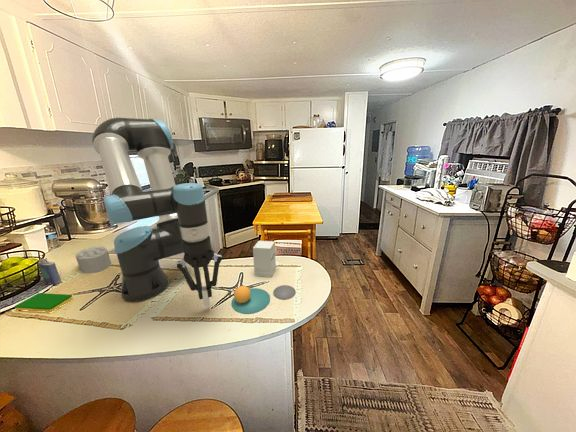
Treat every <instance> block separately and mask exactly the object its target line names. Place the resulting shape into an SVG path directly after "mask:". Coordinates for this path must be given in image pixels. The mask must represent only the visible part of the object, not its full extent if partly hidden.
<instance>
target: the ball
mask: <svg viewBox="0 0 576 432" xmlns="http://www.w3.org/2000/svg"><path fill="white" fill-rule="evenodd" d="M249 289H250V288H249V287H248V286H245V285H240V286H238V287H237V288H236V289H235V290H234V293H233V298H235V300H236V301H237V302H239V303H245V302H247V301H248V300H249V298H250V295H251V292H250V290H249Z"/></svg>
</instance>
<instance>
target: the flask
mask: <svg viewBox="0 0 576 432" xmlns="http://www.w3.org/2000/svg"><path fill="white" fill-rule="evenodd" d="M38 261H39V262H38ZM38 261H37V262H38V263H37V265H38V267H39V270H40V273H41V275H42V279H43V282H44V281H45V282H47V283H51V284H50V285H52V284H53V285H52V286H54V285H55V286H56V285H59V284H61V283H62V280H61V276H60V273H59V271H58V269H57V266H56V263H55V262H53V261H48V258H47V257H45V258H40V259H39V260H38ZM45 282H44V283H45ZM47 283H46V284H47Z"/></svg>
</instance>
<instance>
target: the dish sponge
mask: <svg viewBox="0 0 576 432" xmlns="http://www.w3.org/2000/svg"><path fill="white" fill-rule="evenodd" d="M71 300H72V301H73V300H74V298H73V295H72V294H64V293H63V294H62V293H45V292H44V293H43V292H42V293H41V292H38V293H36V294H35V295H33V296H31V297H29V298H27V299H25V300H23V301H21V302H19V303H18V304H16V305H14V308H15V310H16V311H17V310H28V311H45V312H52V311H54V310H55V309H57V308H59V307H60V306H62V305H64V304H66V303H67V304H69V303H70V302H72V301H71ZM68 302H69V303H68ZM67 304H66V305H67ZM64 306H65V305H64ZM62 307H63V306H62ZM59 309H60V308H59Z"/></svg>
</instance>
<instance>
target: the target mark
mask: <svg viewBox="0 0 576 432" xmlns="http://www.w3.org/2000/svg"><path fill="white" fill-rule="evenodd" d="M249 290H250V292H251V295H250V298H249V300H248V301H247V302H245V303H239V302H237V301H236V300H235V298H234V297H232V300H231V307H232V309H233V310H234V311H235V312H237V313H240V314H243V315H244V314H245V315H251V314H255V313H259V312H261V311H262V310H264V309H266V307H268V305H270V302H271V296H270V294H269V292H267V291H266V290H264V289H262V288H257V287H252V288H249Z"/></svg>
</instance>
